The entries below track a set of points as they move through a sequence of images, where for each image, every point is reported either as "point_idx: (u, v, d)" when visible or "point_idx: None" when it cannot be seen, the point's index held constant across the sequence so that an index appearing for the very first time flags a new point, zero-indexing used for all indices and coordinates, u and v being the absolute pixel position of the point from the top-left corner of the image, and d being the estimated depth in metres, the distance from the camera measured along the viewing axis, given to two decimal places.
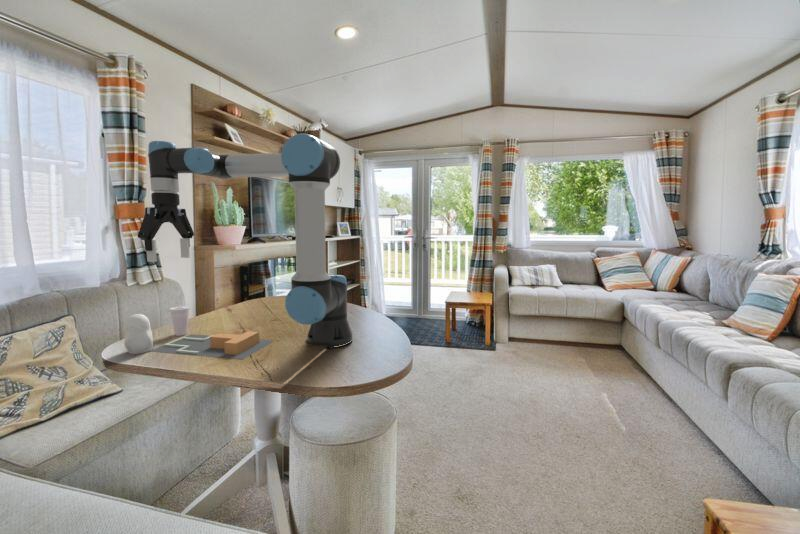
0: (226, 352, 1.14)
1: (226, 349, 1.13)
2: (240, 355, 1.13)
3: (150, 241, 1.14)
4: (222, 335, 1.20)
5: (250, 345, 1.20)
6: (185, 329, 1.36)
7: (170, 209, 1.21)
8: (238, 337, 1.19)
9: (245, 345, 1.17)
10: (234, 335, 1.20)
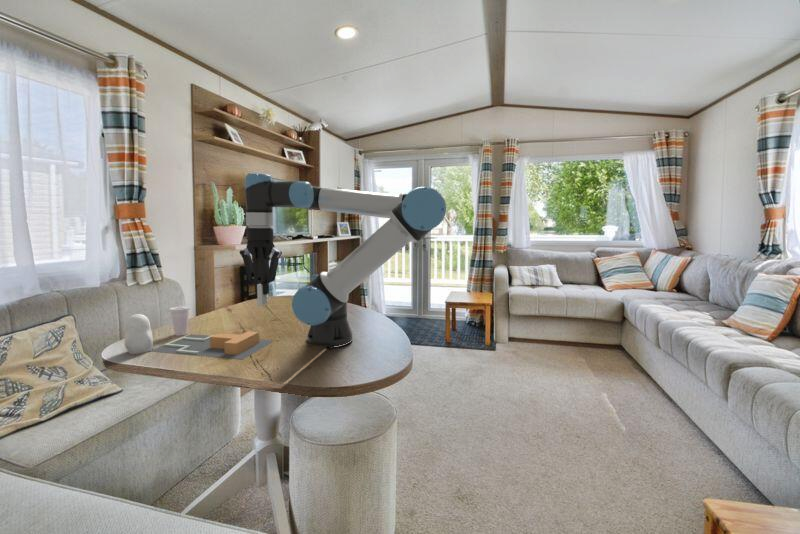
0: (226, 352, 1.14)
1: (226, 349, 1.13)
2: (240, 355, 1.13)
3: (256, 285, 1.15)
4: (222, 335, 1.20)
5: (250, 345, 1.20)
6: (185, 329, 1.36)
7: None
8: (238, 337, 1.19)
9: (245, 345, 1.17)
10: (234, 335, 1.20)
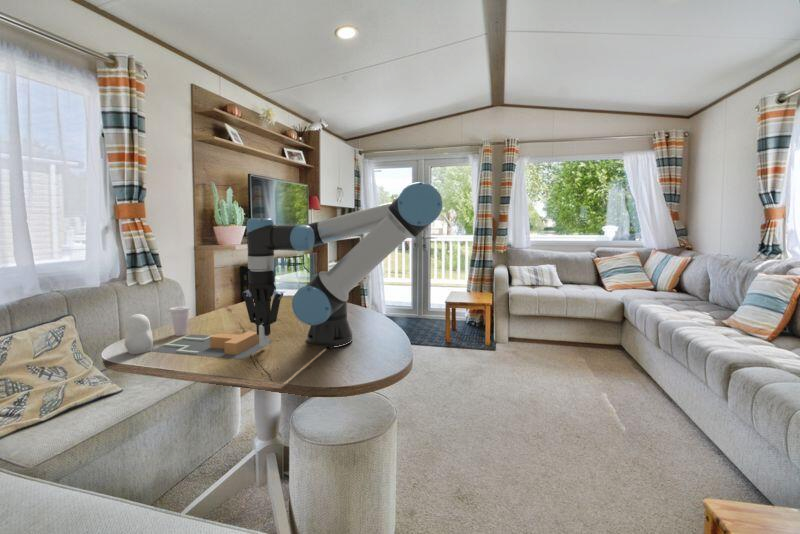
0: (226, 352, 1.14)
1: (226, 349, 1.13)
2: (240, 355, 1.13)
3: (258, 326, 1.16)
4: (222, 335, 1.20)
5: (250, 345, 1.20)
6: (185, 329, 1.36)
7: None
8: (238, 337, 1.19)
9: (245, 345, 1.17)
10: (234, 335, 1.20)
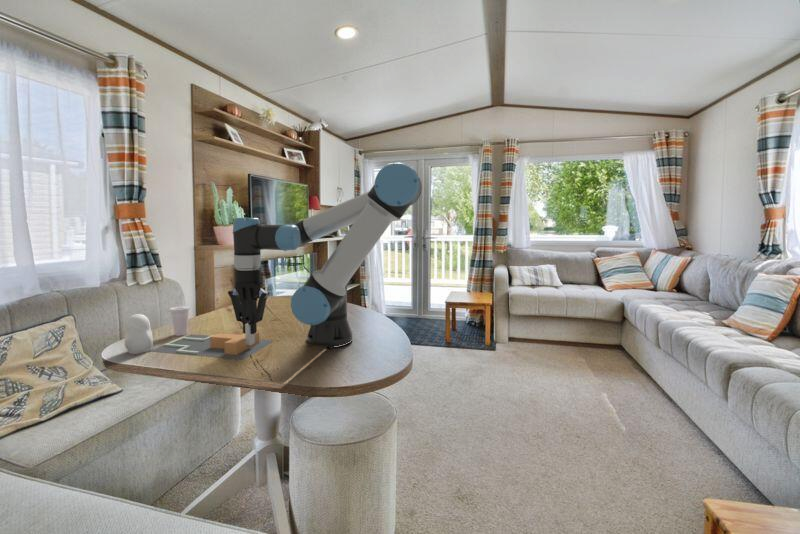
0: (226, 352, 1.14)
1: (226, 349, 1.13)
2: (240, 355, 1.13)
3: (245, 324, 1.17)
4: (222, 335, 1.20)
5: (250, 345, 1.20)
6: (185, 329, 1.36)
7: None
8: (238, 337, 1.19)
9: (245, 345, 1.17)
10: (234, 335, 1.20)
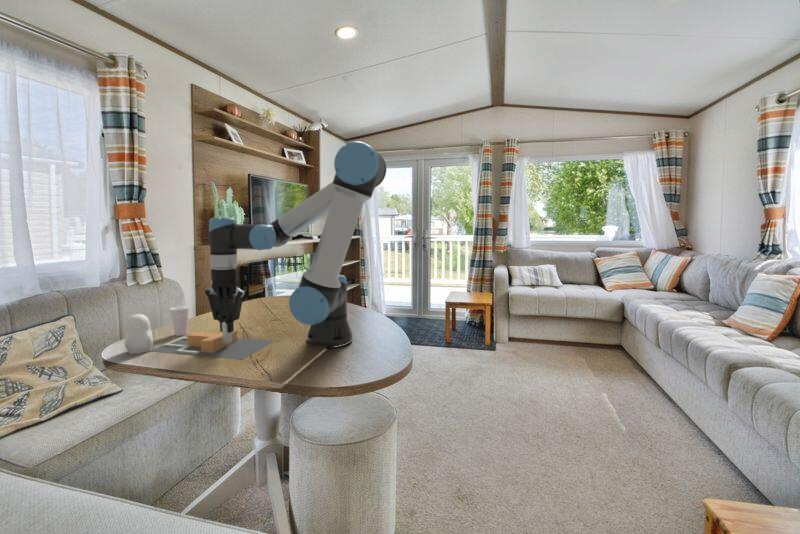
0: (202, 350, 1.15)
1: (202, 347, 1.15)
2: (240, 355, 1.13)
3: (221, 323, 1.19)
4: (200, 333, 1.22)
5: (227, 343, 1.21)
6: (185, 329, 1.36)
7: None
8: (215, 335, 1.20)
9: (222, 343, 1.19)
10: (212, 333, 1.22)
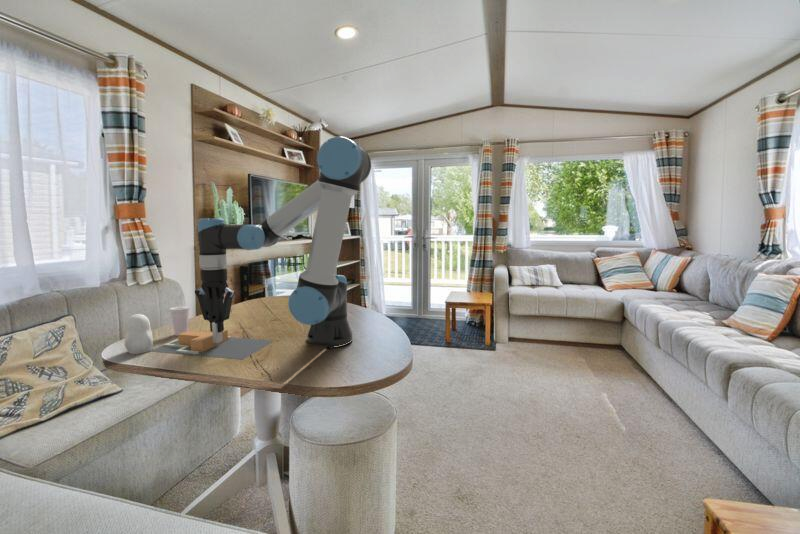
0: (192, 349, 1.16)
1: (192, 346, 1.16)
2: (240, 355, 1.13)
3: (212, 323, 1.20)
4: (190, 333, 1.22)
5: None
6: (185, 329, 1.36)
7: None
8: (205, 334, 1.21)
9: (212, 342, 1.19)
10: (202, 333, 1.23)
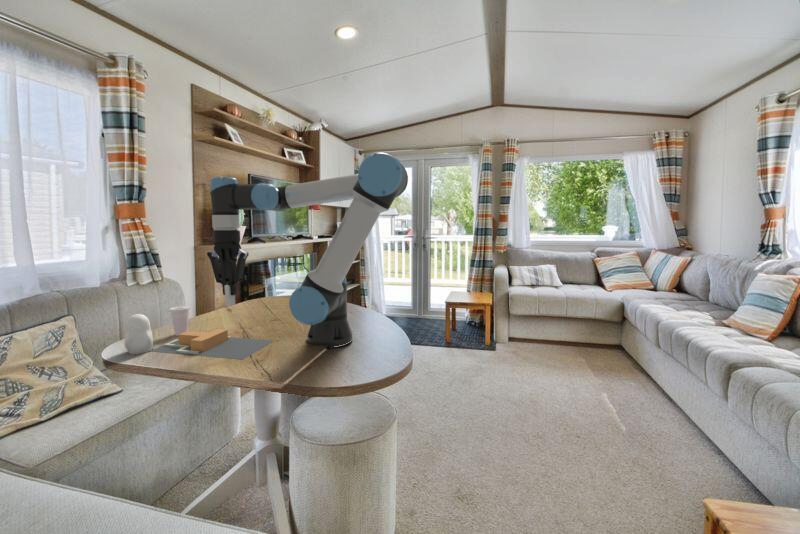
0: (192, 349, 1.16)
1: (192, 346, 1.16)
2: (240, 355, 1.13)
3: (224, 286, 1.17)
4: (190, 333, 1.22)
5: (218, 342, 1.22)
6: (185, 329, 1.36)
7: None
8: (205, 334, 1.21)
9: (212, 342, 1.19)
10: (202, 333, 1.23)
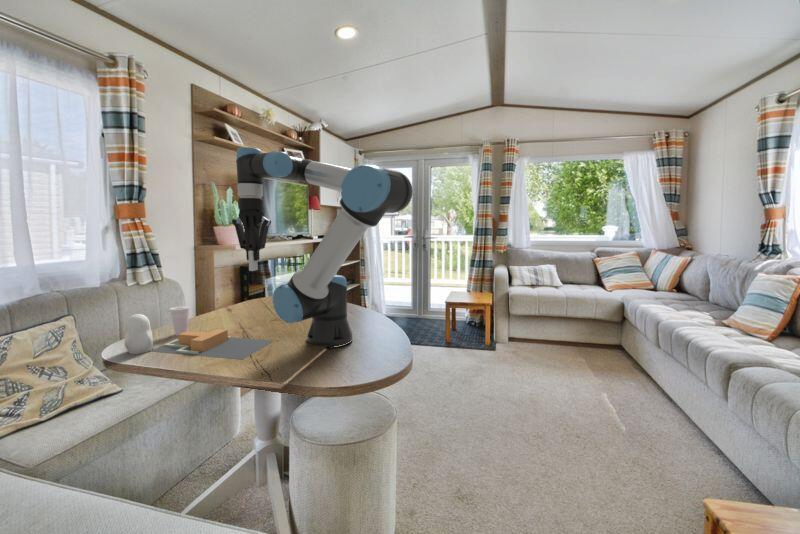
0: (192, 349, 1.16)
1: (192, 346, 1.16)
2: (240, 355, 1.13)
3: None
4: (190, 333, 1.22)
5: (218, 342, 1.22)
6: (185, 329, 1.36)
7: None
8: (205, 334, 1.21)
9: (212, 342, 1.19)
10: (202, 333, 1.23)
